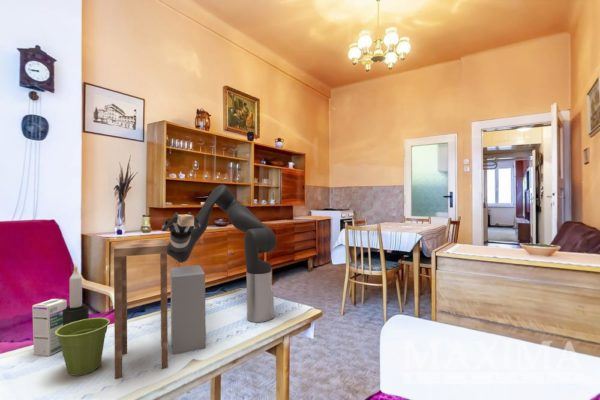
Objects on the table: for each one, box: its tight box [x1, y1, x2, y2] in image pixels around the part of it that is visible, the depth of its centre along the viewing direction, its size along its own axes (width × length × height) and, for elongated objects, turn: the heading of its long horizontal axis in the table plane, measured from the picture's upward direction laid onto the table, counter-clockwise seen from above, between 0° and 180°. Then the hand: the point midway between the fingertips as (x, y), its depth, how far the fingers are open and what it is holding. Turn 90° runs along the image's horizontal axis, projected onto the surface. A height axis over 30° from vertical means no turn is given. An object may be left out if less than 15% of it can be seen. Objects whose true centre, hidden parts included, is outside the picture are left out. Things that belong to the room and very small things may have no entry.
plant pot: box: [55, 317, 111, 377], centre depth 81 cm, size 12×12×11 cm
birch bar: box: [177, 213, 195, 227], centre depth 104 cm, size 4×24×3 cm, turn 25°
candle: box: [63, 265, 90, 326], centre depth 90 cm, size 5×5×25 cm
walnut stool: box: [113, 238, 169, 380], centre depth 86 cm, size 12×15×32 cm
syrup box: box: [31, 298, 68, 357], centre depth 91 cm, size 6×6×14 cm
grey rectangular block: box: [169, 264, 207, 355], centre depth 97 cm, size 9×14×22 cm, turn 25°
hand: (183, 214), depth 108 cm, fingers closed on birch bar, 3 cm apart
